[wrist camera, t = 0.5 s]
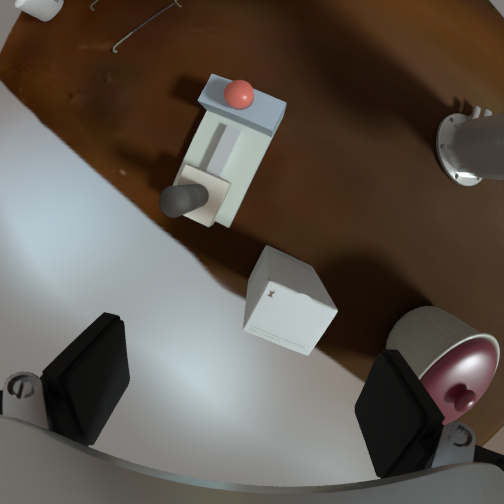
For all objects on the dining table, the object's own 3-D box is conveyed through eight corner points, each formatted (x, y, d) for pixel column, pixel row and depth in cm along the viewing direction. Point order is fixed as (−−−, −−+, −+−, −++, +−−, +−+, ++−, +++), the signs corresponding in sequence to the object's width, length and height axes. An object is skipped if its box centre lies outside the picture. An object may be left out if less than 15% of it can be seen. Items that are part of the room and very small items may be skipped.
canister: (419, 269, 41) (496, 327, 21) (464, 319, 43) (524, 376, 23) (350, 348, 46) (386, 437, 25) (405, 384, 47) (443, 457, 27)
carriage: (194, 165, 38) (158, 160, 25) (233, 183, 38) (214, 185, 25) (178, 204, 39) (136, 217, 26) (215, 221, 40) (189, 243, 26)
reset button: (233, 81, 29) (231, 76, 27) (258, 91, 29) (258, 86, 27) (221, 104, 29) (218, 99, 27) (246, 114, 30) (245, 110, 28)
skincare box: (247, 279, 43) (236, 330, 28) (267, 241, 42) (266, 276, 27) (296, 301, 44) (307, 359, 29) (316, 265, 42) (340, 311, 27)
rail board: (221, 89, 36) (211, 73, 30) (283, 115, 37) (286, 103, 30) (170, 198, 41) (152, 202, 34) (230, 225, 41) (222, 235, 35)
